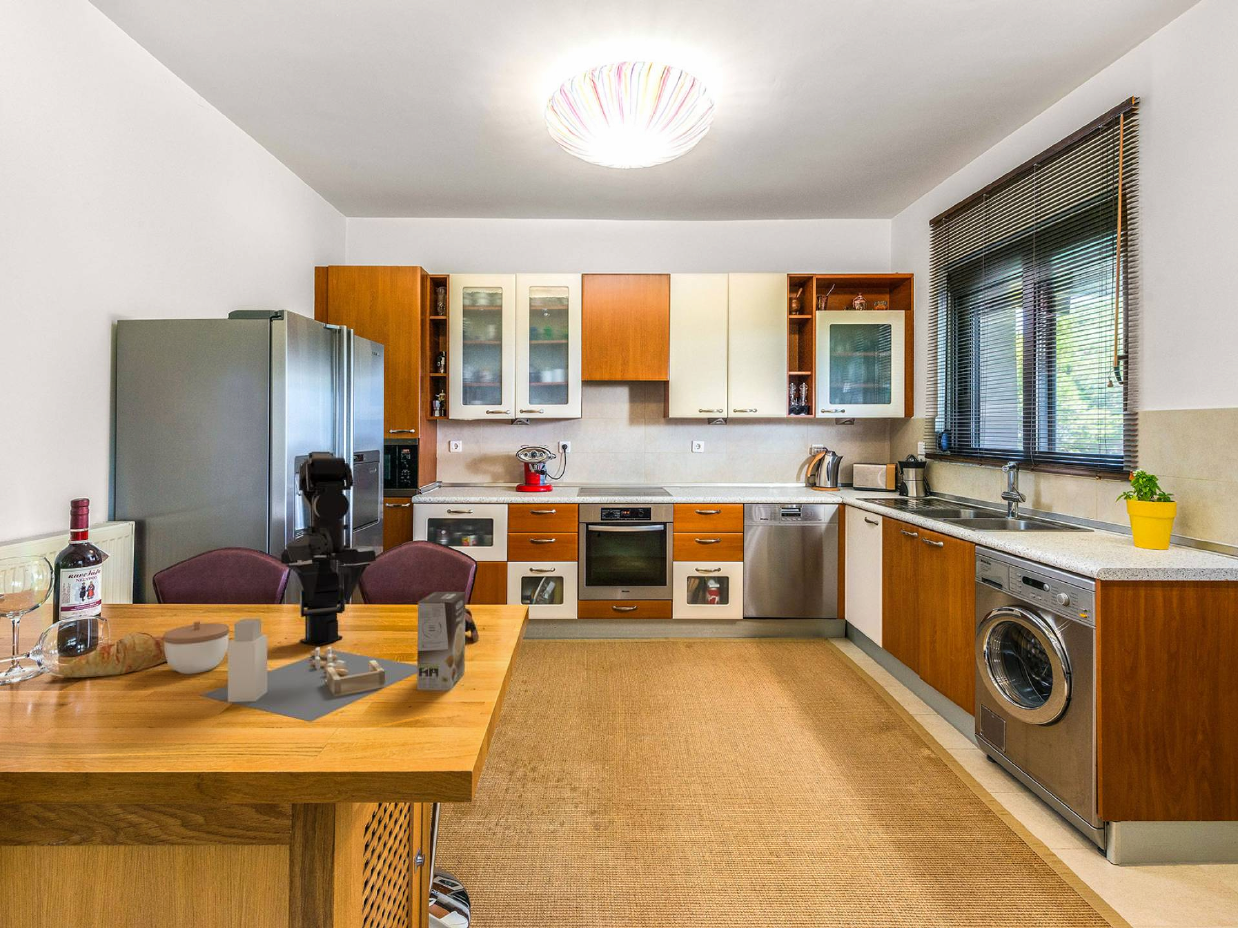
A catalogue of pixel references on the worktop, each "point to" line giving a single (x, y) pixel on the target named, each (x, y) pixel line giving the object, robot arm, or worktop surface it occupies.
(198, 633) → the lidded jar
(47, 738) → the worktop surface
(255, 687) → the white square bottle
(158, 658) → the bread loaf
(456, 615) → the coffee box
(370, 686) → the end holder
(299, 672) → the slate mat
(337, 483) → the robot arm
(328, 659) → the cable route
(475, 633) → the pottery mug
